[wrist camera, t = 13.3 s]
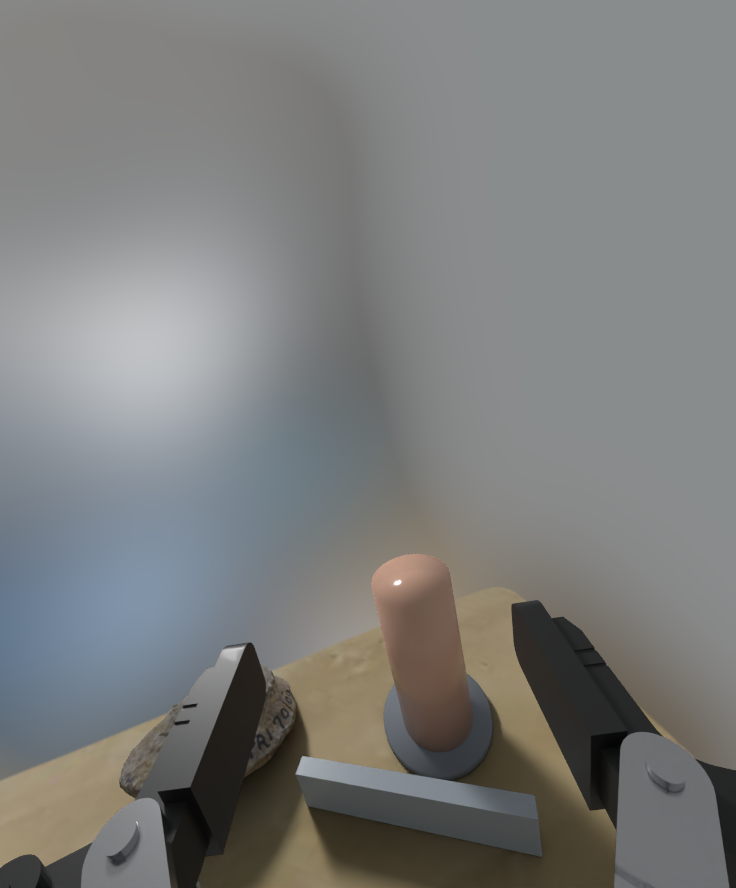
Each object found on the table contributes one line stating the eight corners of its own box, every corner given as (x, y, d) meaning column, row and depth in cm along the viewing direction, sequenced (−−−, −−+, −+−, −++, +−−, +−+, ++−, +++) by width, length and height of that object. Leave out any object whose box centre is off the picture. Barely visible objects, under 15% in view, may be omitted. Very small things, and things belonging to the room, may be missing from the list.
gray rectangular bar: (307, 806, 22) (295, 774, 22) (313, 787, 23) (302, 755, 23) (542, 856, 18) (538, 819, 17) (538, 831, 19) (534, 795, 18)
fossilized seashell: (315, 746, 24) (251, 683, 23) (180, 910, 20) (92, 848, 19) (285, 665, 34) (239, 617, 32) (189, 766, 30) (132, 717, 28)
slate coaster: (374, 770, 23) (372, 764, 23) (395, 665, 31) (394, 660, 31) (498, 791, 21) (497, 785, 21) (488, 672, 28) (487, 667, 28)
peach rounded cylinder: (397, 746, 24) (362, 606, 21) (407, 677, 29) (380, 555, 26) (474, 757, 23) (449, 607, 19) (471, 682, 27) (450, 552, 24)
